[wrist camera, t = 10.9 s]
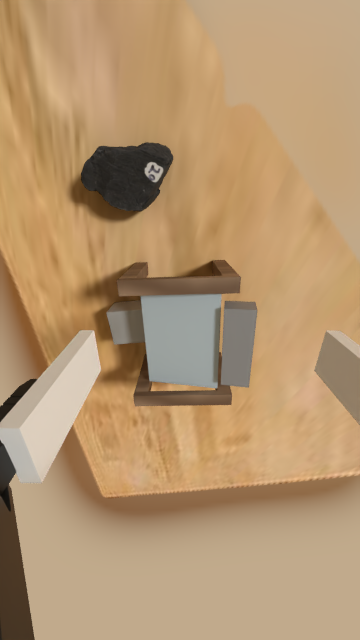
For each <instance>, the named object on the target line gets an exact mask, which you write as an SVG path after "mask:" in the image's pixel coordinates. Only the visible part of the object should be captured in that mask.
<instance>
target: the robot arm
mask: <svg viewBox="0 0 360 640" xmlns="http://www.w3.org/2000/svg"><path fill="white" fill-rule="evenodd" d="M100 371H101V367H100V362H99V356H98V350H97V345H96V339H95V334H94V330H80V331H79V333H78V334H77V335H76V336H75V337H74V338H73V339H72V341H71V342H70V343H69V344H68V345H67V346H66V347H65V349H64V350H63V351H62V352H61V353H60V354H59V355H58V357H57V358H56V359H55V360H54V361H53V362H52V363H51V365H50V366H49V367H48V368H47V369H46V370H45V372H44V373H43V374H42V375H41V376H40V377H39V378H38V379H30V380H29V381H27V382H26V383H24V384H22V385H21V386H19V387H18V388H17V389H16V390H15V392H14V393H13V394H12V395H11V397H10V398H8V399H7V400H6V401H5V402H4V403H3V405H2V406H0V640H35V639H34V634H33V627H32V620H31V613H30V607H29V601H28V594H27V588H26V582H25V575H24V568H23V562H22V555H21V549H20V542H19V536H18V529H17V523H16V516H15V511H14V504H13V497H12V491H11V488H10V486H9V483H10V481H11V480H12V478H13V476H14V475H15V473H16V474H17V476H18V478H19V480H20V482H21V483H42V482H43V480H44V478H45V476H46V474H47V472H48V470H49V468H50V466H51V465H52V462H53V461H54V459H55V457H56V455H57V453H58V451H59V449H60V447H61V445H62V444H63V442H64V440H65V438H66V436H67V434H68V432H69V430H70V428H71V426H72V424H73V422H74V421H75V419H76V417H77V415H78V413H79V411H80V409H81V407H82V405H83V403H84V401H85V399H86V398H87V396H88V394H89V392H90V390H91V388H92V386H93V384H94V382H95V380H96V378H97V377H98V375H99V373H100ZM314 371H315V372H316V373H317V374H318V376H319V377H320V378H321V379H322V380H323V382H324V383H325V384H326V385H327V386H328V388H329V389H330V390H331V391H332V392H333V394H334V395H335V396H336V397H337V398H338V400H339V401H340V402H341V403H342V404H343V406H344V407H345V408H346V409H347V410H348V412H349V413H350V414H351V415H352V416H353V418H354V419H355V420H356V421H357V423H358V424H359V425H360V346H359V345H358V344H357V343H355V342H354V341H353V340H351V339H350V338H349V337H347V336H346V335H345V334H344V333H342V332H341V331H326V333H325V336H324V340H323V343H322V347H321V350H320V353H319V357H318V360H317V364H316V367H315V370H314Z"/></svg>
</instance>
